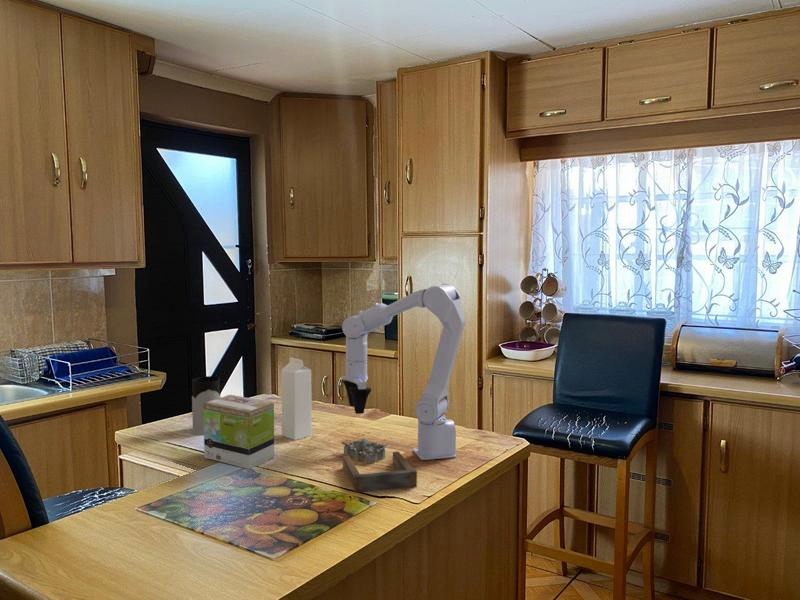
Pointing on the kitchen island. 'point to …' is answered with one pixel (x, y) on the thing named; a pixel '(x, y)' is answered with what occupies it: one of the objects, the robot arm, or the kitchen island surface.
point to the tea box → (239, 430)
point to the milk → (296, 400)
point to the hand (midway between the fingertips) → (356, 409)
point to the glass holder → (203, 399)
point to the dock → (381, 476)
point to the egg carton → (365, 450)
